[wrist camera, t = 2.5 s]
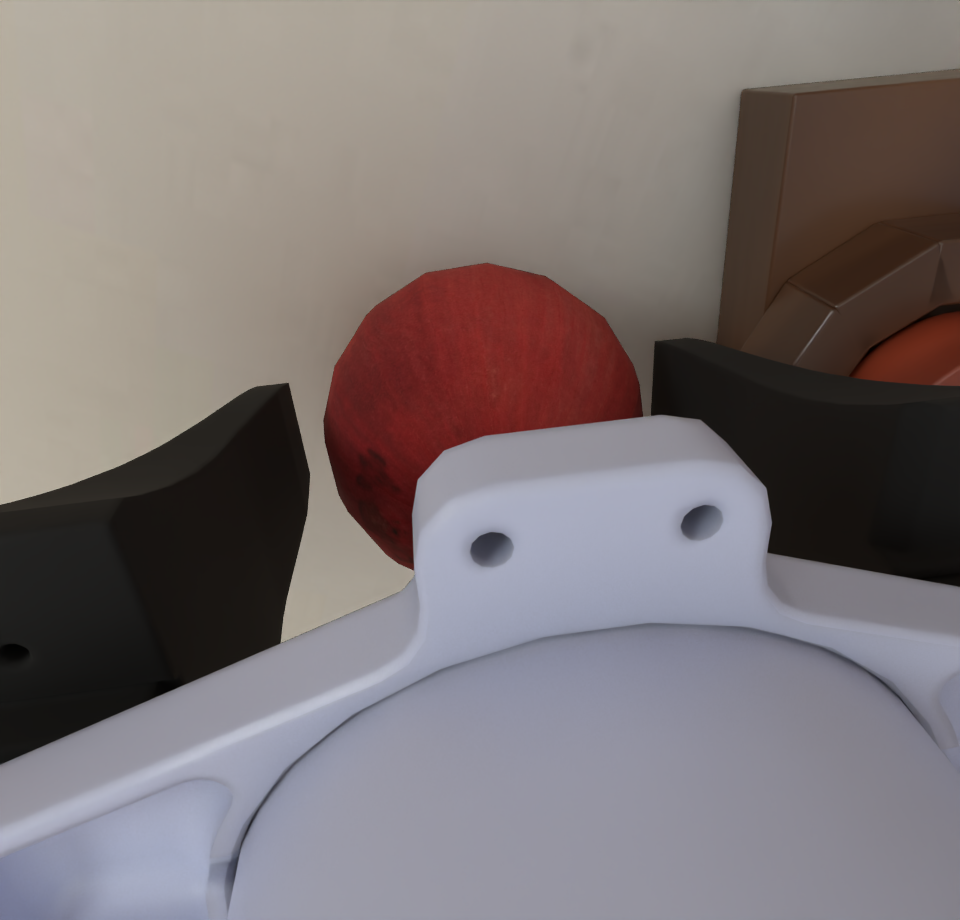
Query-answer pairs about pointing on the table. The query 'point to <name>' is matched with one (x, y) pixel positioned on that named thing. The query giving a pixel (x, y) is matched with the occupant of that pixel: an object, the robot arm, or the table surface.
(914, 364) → the button
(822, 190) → the button box
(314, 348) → the table surface
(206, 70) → the table surface
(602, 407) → the red fruit
